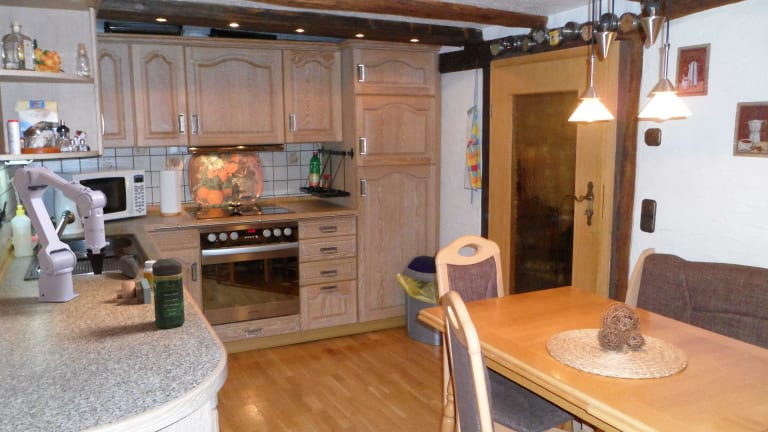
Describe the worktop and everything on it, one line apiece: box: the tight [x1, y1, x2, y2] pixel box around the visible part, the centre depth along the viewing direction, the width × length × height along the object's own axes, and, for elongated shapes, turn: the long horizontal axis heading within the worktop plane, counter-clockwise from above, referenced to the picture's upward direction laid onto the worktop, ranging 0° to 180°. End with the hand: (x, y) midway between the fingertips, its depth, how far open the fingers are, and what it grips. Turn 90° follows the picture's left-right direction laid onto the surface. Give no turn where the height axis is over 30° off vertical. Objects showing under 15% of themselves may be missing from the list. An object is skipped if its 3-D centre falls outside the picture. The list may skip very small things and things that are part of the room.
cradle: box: [116, 281, 144, 306], centre depth 198 cm, size 8×10×4 cm
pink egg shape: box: [120, 280, 136, 299], centre depth 197 cm, size 4×4×6 cm
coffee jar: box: [152, 258, 186, 329], centre depth 173 cm, size 10×8×19 cm
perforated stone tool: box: [118, 254, 139, 279], centre depth 230 cm, size 15×5×7 cm, turn 35°
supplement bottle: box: [142, 260, 157, 292], centre depth 211 cm, size 5×5×10 cm
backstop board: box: [139, 278, 152, 305], centre depth 200 cm, size 2×14×5 cm, turn 26°
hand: (97, 272), depth 193 cm, fingers open, 6 cm apart
